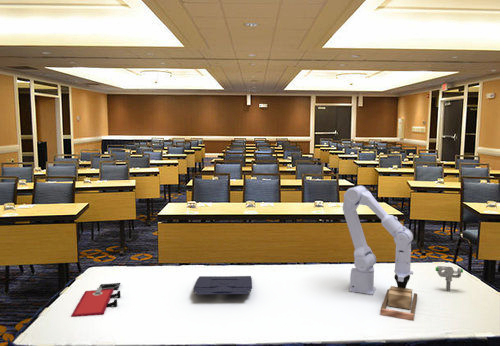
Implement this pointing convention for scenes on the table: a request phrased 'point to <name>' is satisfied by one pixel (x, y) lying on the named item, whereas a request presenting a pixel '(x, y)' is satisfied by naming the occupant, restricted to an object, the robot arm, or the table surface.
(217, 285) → the dark grey flat slab
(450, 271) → the mechanical component
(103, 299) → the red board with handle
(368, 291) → the robot arm
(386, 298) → the bay
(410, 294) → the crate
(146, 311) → the table surface
